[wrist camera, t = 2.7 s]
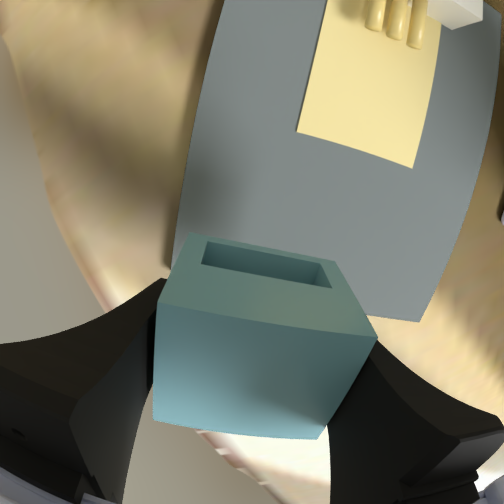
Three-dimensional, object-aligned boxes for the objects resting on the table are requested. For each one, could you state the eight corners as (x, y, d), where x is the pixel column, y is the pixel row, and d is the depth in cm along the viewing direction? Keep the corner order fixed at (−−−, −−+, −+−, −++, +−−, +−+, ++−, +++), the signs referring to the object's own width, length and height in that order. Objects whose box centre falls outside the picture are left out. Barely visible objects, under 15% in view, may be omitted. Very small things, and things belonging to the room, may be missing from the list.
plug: (334, 261, 12) (378, 337, 7) (299, 354, 13) (316, 439, 9) (189, 232, 11) (157, 302, 7) (175, 334, 13) (152, 419, 9)
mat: (494, 16, 11) (502, 14, 10) (414, 315, 19) (419, 323, 18) (255, -82, 9) (255, -90, 9) (172, 272, 18) (169, 279, 17)
